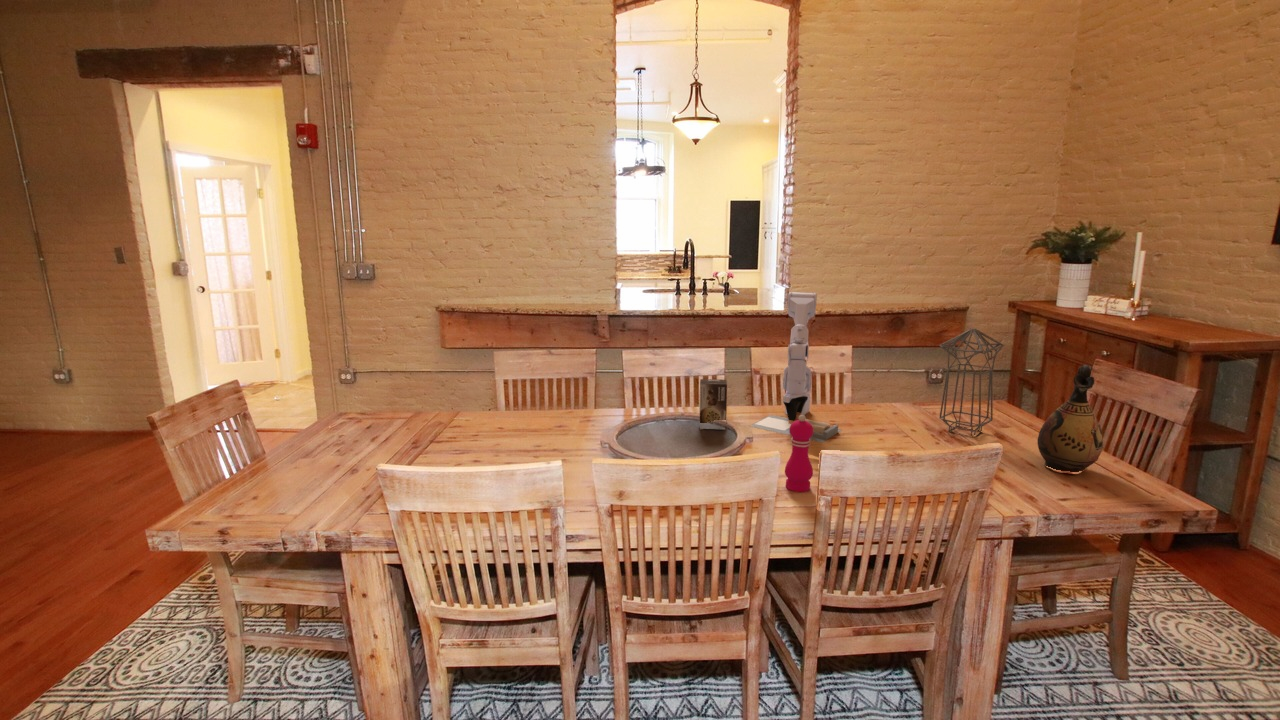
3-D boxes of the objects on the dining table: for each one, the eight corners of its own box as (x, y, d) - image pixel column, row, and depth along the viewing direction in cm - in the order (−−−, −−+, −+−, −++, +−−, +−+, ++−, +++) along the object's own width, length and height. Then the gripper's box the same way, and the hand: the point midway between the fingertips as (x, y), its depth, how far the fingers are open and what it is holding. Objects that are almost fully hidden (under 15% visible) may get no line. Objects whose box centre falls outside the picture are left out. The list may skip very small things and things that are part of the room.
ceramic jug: (1099, 484, 176) (1118, 376, 169) (1033, 472, 184) (1048, 368, 177) (1096, 464, 190) (1113, 364, 184) (1034, 453, 198) (1049, 357, 191)
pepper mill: (780, 482, 176) (784, 411, 172) (806, 481, 177) (811, 410, 172) (788, 493, 169) (793, 419, 165) (815, 492, 170) (820, 419, 165)
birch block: (793, 424, 221) (794, 410, 220) (829, 432, 214) (830, 418, 212) (786, 428, 217) (787, 414, 216) (823, 436, 210) (824, 421, 209)
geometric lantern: (979, 443, 207) (989, 334, 200) (930, 432, 219) (937, 329, 211) (998, 432, 217) (1009, 328, 210) (951, 421, 229) (959, 323, 221)
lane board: (770, 416, 232) (771, 408, 232) (841, 432, 217) (842, 422, 216) (748, 428, 220) (749, 419, 219) (822, 445, 204) (823, 435, 204)
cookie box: (725, 424, 223) (727, 379, 220) (726, 430, 217) (728, 384, 214) (698, 423, 224) (700, 378, 221) (698, 429, 218) (700, 383, 214)
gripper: (798, 385, 207) (795, 426, 210) (817, 376, 218) (814, 415, 221) (778, 381, 211) (775, 422, 214) (797, 373, 222) (795, 411, 225)
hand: (794, 418), depth 218 cm, fingers open, 3 cm apart
